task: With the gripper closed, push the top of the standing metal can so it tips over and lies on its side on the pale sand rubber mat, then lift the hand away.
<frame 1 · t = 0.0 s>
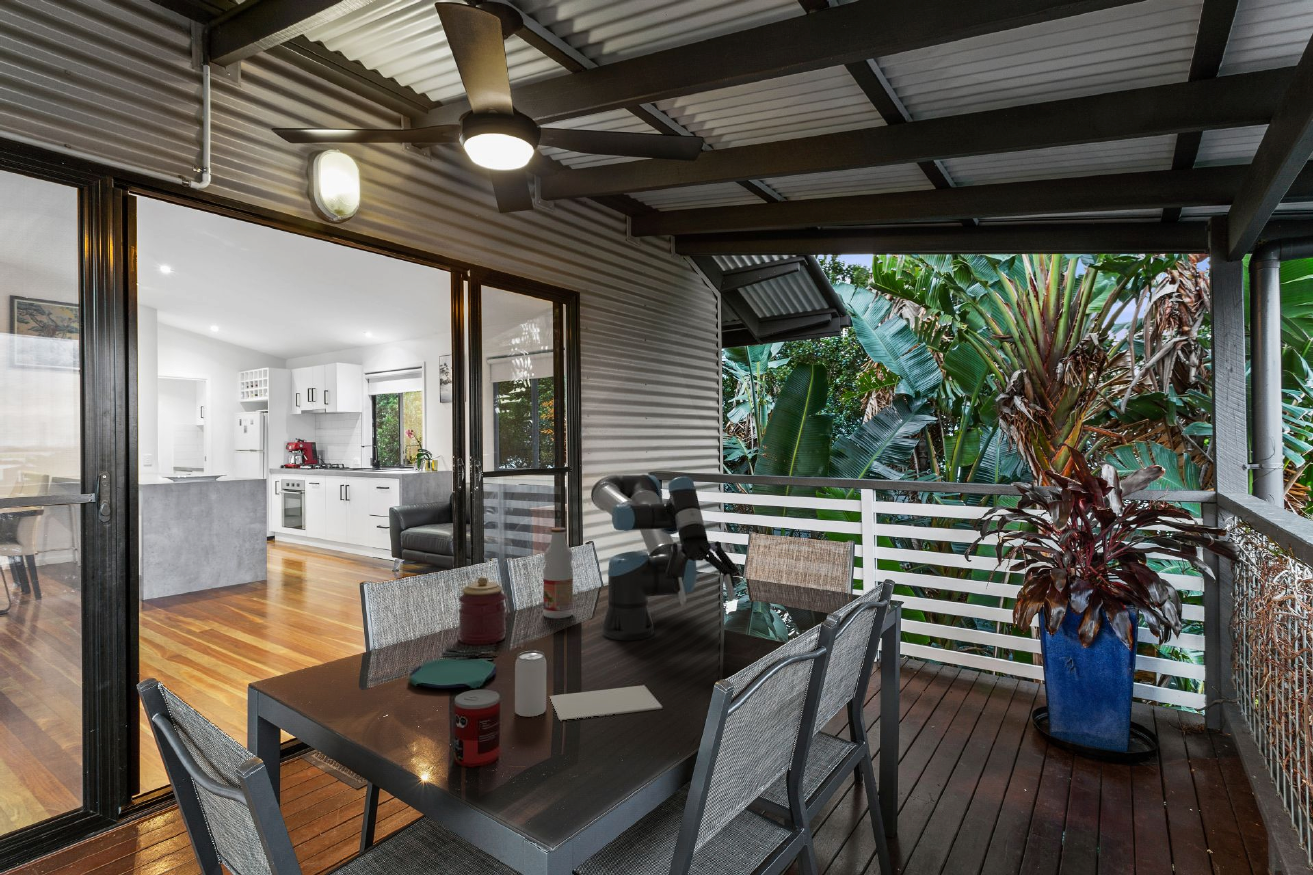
hand: (708, 601, 177), 15 cm above the table, tool tilted 35°, fingers open, 13 cm apart
canister 2: (482, 639, 194), on the table
can: (530, 712, 144), on the table
fruit juice: (557, 615, 220), on the table
canned food: (476, 758, 123), on the table
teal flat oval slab: (460, 673, 169), on the table
mat: (604, 702, 149), on the table
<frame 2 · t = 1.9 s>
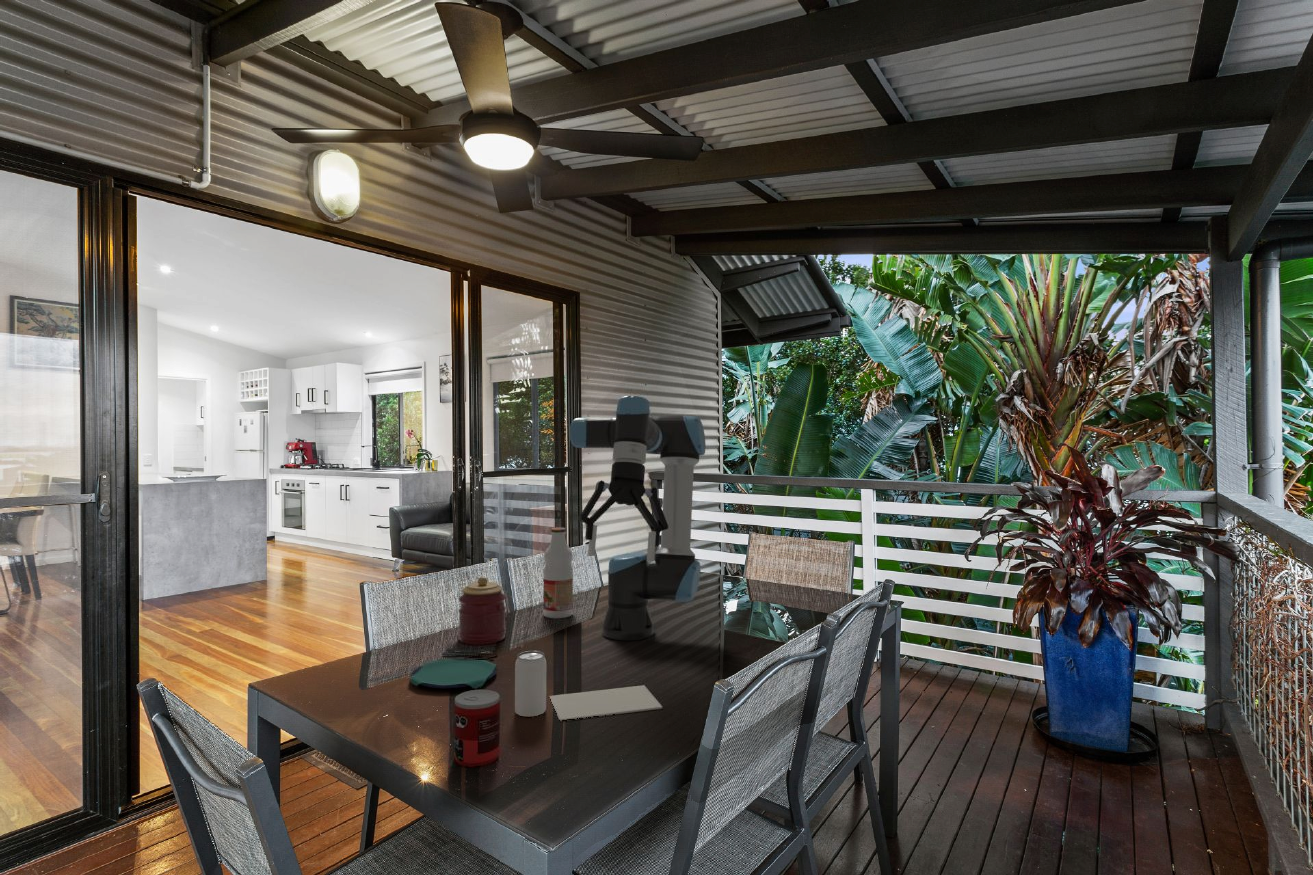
hand: (621, 558, 150), 31 cm above the table, tool pointing down, fingers open, 13 cm apart
nothing on the table moved.
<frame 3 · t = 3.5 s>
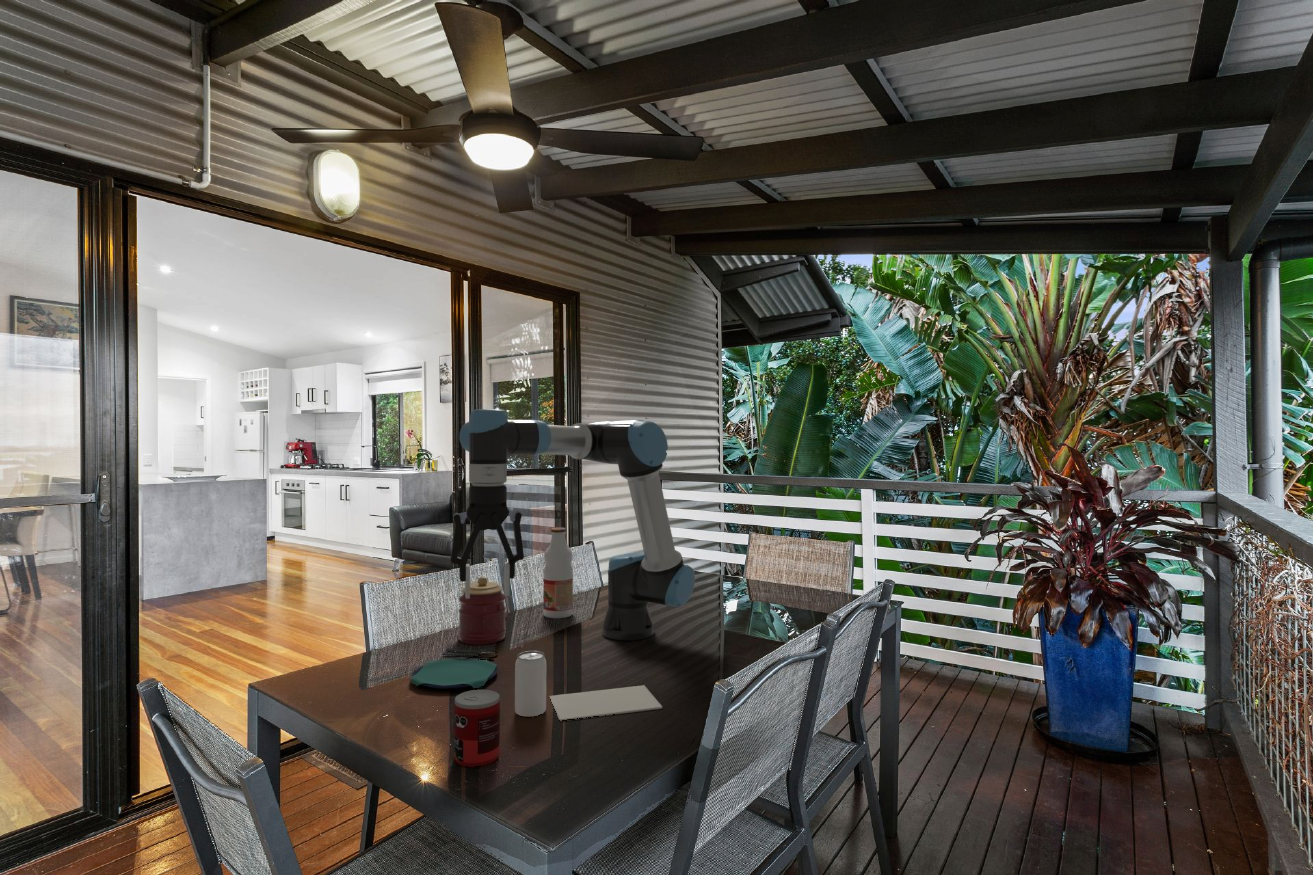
hand: (487, 595, 141), 25 cm above the table, tool pointing down, fingers open, 7 cm apart
nothing on the table moved.
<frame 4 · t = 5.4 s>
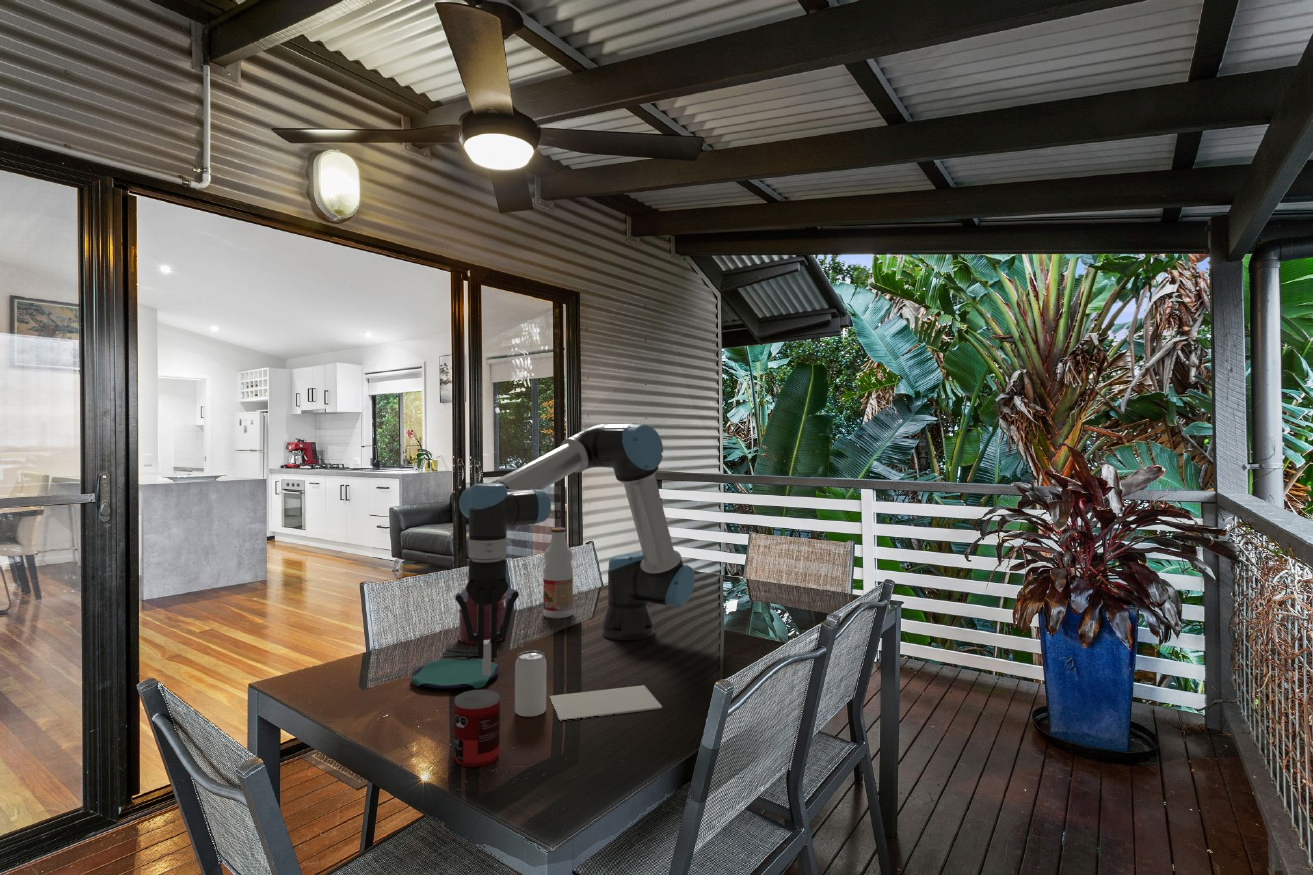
hand: (486, 673, 141), 9 cm above the table, tool pointing down, fingers closed
nothing on the table moved.
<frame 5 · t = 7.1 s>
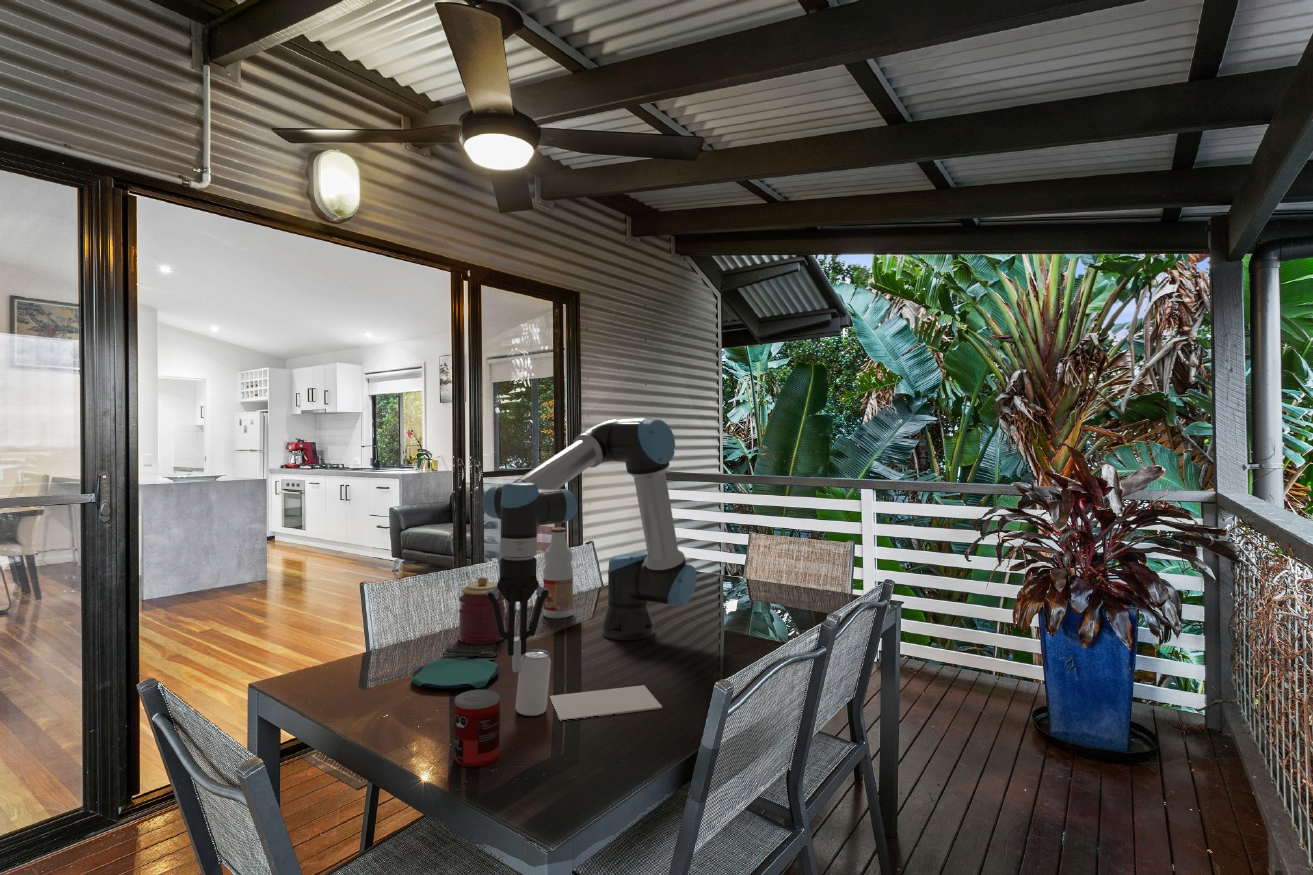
hand: (516, 669, 143), 9 cm above the table, tool pointing down, fingers closed
can: (530, 711, 144), on the table, touching gripper
everything else where it was.
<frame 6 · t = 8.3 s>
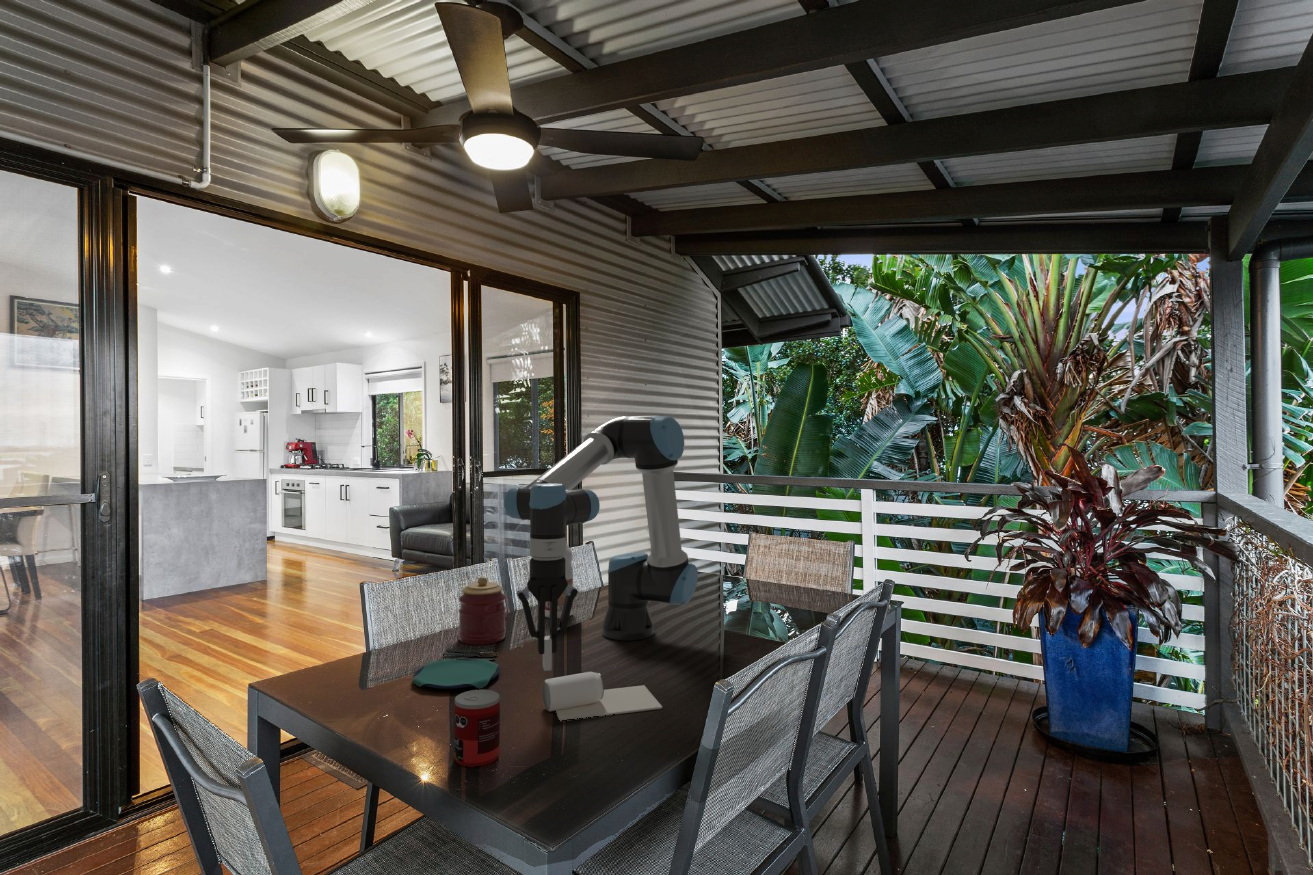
hand: (547, 668, 145), 9 cm above the table, tool pointing down, fingers closed
can: (544, 695, 144), point 3 cm above the table, touching mat
everything else where it was.
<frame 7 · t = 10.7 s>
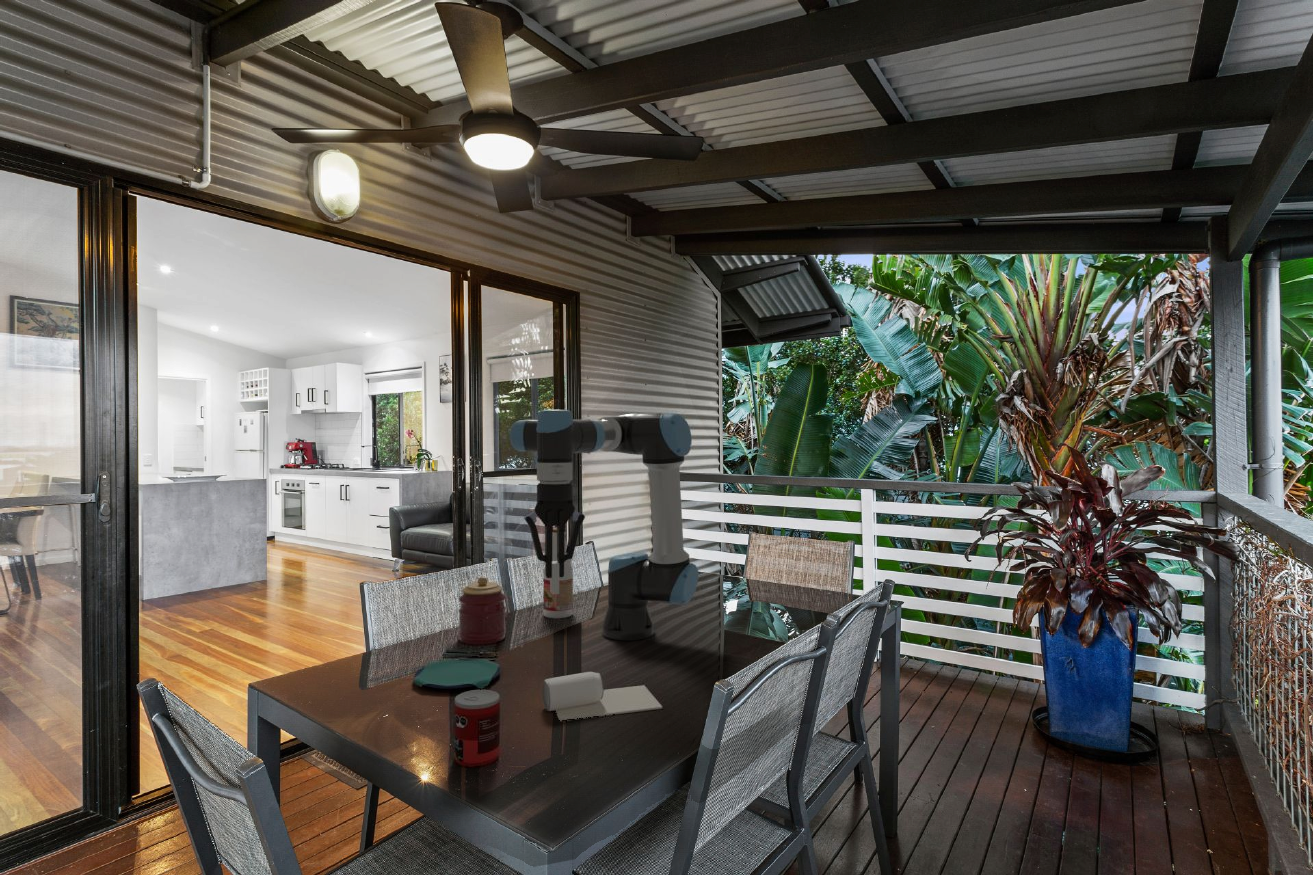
hand: (554, 592, 146), 25 cm above the table, tool pointing down, fingers closed
nothing on the table moved.
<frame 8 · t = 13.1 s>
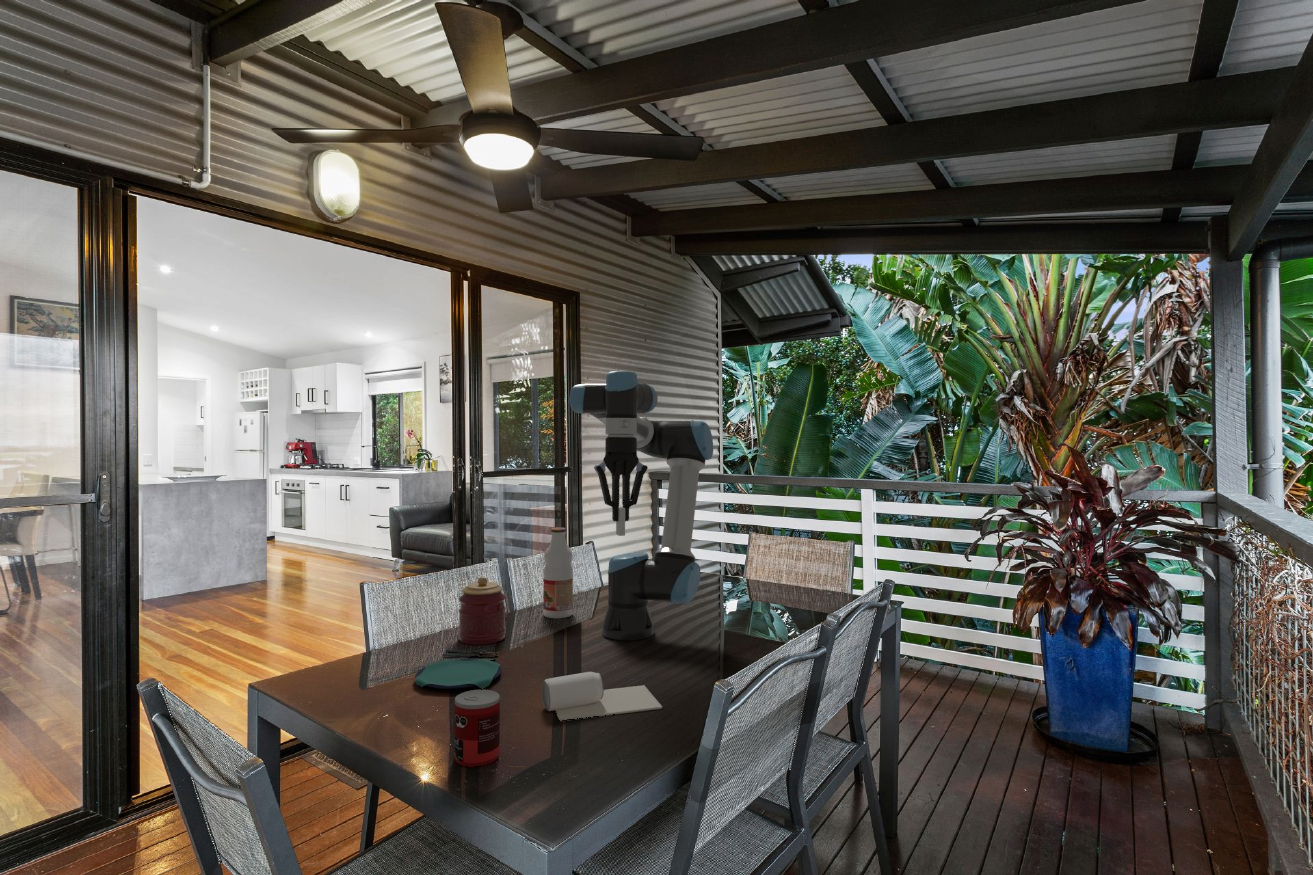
hand: (620, 534, 163), 34 cm above the table, tool pointing down, fingers closed
at the end: can tilted 89°; can inside the target area (2.6 cm from its centre), point 3.2 cm above the table; can touching mat, table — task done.
